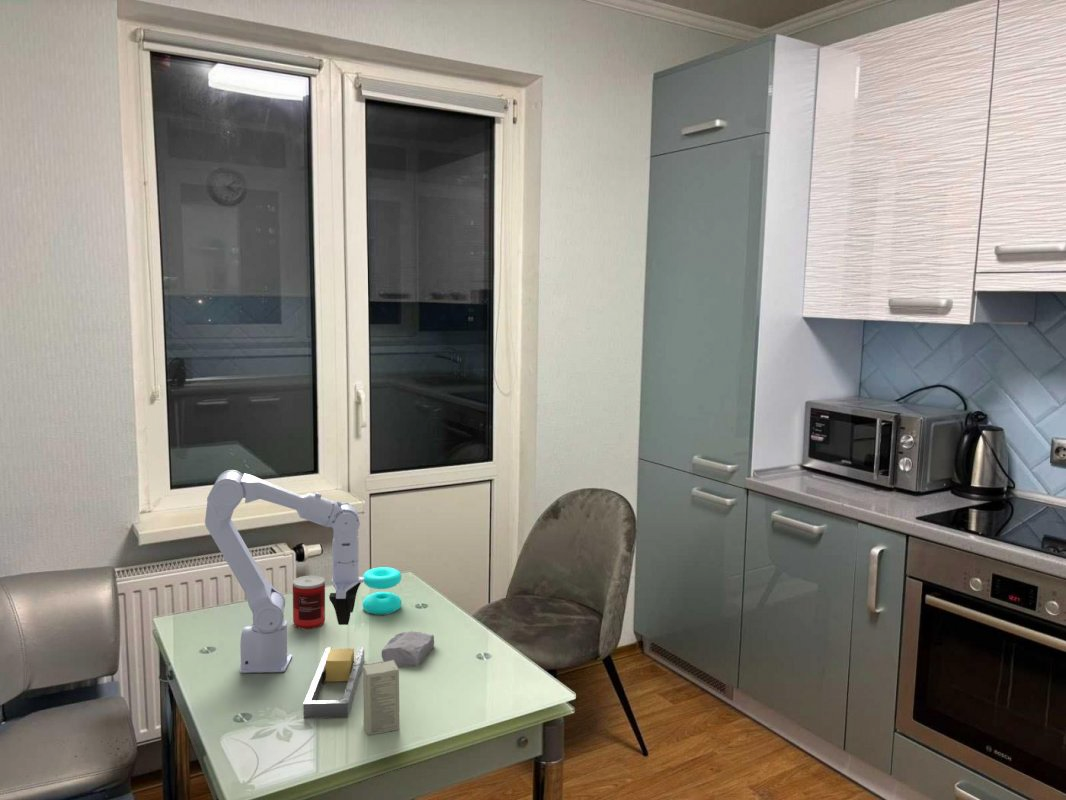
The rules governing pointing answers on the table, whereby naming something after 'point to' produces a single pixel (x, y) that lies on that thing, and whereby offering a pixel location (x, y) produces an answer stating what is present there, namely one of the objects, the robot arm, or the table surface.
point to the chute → (332, 707)
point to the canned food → (308, 602)
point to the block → (339, 664)
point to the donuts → (382, 600)
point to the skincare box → (381, 697)
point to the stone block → (408, 648)
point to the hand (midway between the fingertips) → (345, 618)
